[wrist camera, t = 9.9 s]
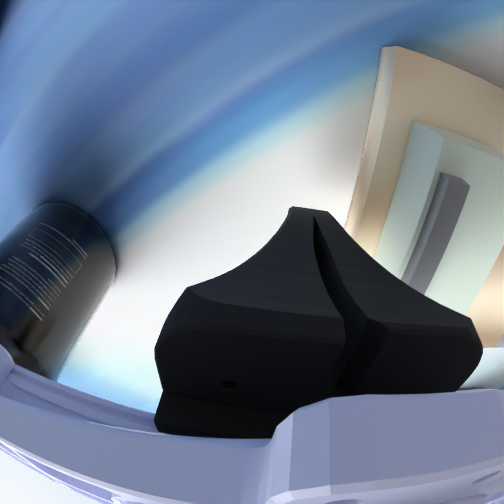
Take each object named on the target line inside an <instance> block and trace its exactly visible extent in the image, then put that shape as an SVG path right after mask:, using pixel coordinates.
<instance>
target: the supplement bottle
mask: <svg viewBox="0 0 504 504" xmlns="http://www.w3.org/2000/svg"><path fill="white" fill-rule="evenodd" d="M115 273H116V265H115V257H114V254H113V250H112V248H111V245H110V243H109V241H108V239H107V238H106V236H105V234H104V233H103V232H102V230H101V229H100V228H99V226H98V225H97V224H96V223H95V222H94V221H93V220H92V219H91V218H90V217H89V216H87V215H86V214H85V213H83V212H82V211H80V210H79V209H77V208H75V207H73V206H70V205H67V204H63V203H46V204H43V205H41V206H39V207H38V208H36V209H35V210H33V211H32V212H31V213H30V214H29V215H27V216H26V217H25V218H24V219H23V220H22V221H20V222H19V223H18V224H17V225H16V226H15V227H14V228H13V229H12V230H11V231H10V232H9V233H7V234H6V235H5V236H4V237H3V238H2V239H1V240H0V344H1V345H2V346H3V347H4V348H5V349H6V350H7V352H8V353H9V354H10V356H11V358H12V359H13V361H14V364H16V365H18V366H20V367H22V368H25V369H27V370H29V371H31V372H33V373H36V374H38V375H40V376H43V377H45V378H48V379H50V380H52V381H55V382H58V380H59V378H60V376H61V374H62V372H63V370H64V368H65V367H66V365H67V363H68V361H69V359H70V357H71V355H72V353H73V352H74V350H75V348H76V346H77V344H78V343H79V341H80V339H81V337H82V335H83V334H84V332H85V330H86V328H87V327H88V325H89V323H90V321H91V320H92V318H93V316H94V315H95V313H96V311H97V310H98V308H99V306H100V304H101V303H102V301H103V300H104V298H105V296H106V294H107V293H108V291H109V289H110V288H111V286H112V284H113V281H114V278H115Z"/></svg>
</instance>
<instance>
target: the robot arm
mask: <svg viewBox="0 0 504 504" xmlns="http://www.w3.org/2000/svg"><path fill="white" fill-rule="evenodd" d="M154 349H155V362H156V366H157V370H158V374H159V377H160V381H161V385H162V389H163V392H162V395H161V398H160V402H159V405H158V408H157V411H156V414H154V413H150V412H146V411H142V410H138V409H135V408H131V407H128V406H124V405H121V404H117V403H114V402H111V401H108V400H105V399H102V398H99V397H96V396H93V395H90V394H87V393H84V392H81V391H78V390H76V389H73V388H70V387H68V386H65V385H62V384H60V383H57V382H55V381H52V380H50V379H48V378H45V377H43V376H40V375H38V374H36V373H33V372H31V371H29V370H27V369H25V368H22V367H20V366H18V365H16V364H14V361H13V359H12V358H11V356H10V354H9V353H8V352H7V350H6V349H5V348H4V347H3V346H2V345H1V344H0V450H2V451H4V452H5V453H7V454H8V455H10V456H11V457H13V458H14V459H16V460H18V461H19V462H21V463H23V464H24V465H26V466H28V467H29V468H31V469H33V470H34V471H36V472H38V473H40V474H42V475H43V476H45V477H47V478H49V479H51V480H53V481H55V482H57V483H59V484H61V485H63V486H65V487H67V488H69V489H71V490H73V491H75V492H77V493H79V494H82V495H84V496H86V497H88V498H91V499H93V500H95V501H98V502H100V503H103V504H504V390H498V389H484V388H482V389H472V390H461V391H457V390H458V389H459V388H460V387H461V385H462V384H463V383H464V382H465V381H466V380H467V379H468V378H469V376H470V375H471V374H472V373H473V371H474V370H475V369H476V367H477V366H478V364H479V362H480V360H481V357H482V354H483V345H482V342H481V340H480V337H479V335H478V333H477V331H476V328H475V326H474V324H473V322H472V320H471V318H469V317H467V316H465V315H463V314H461V313H459V312H456V311H454V310H452V309H450V308H448V307H446V306H443V305H441V304H439V303H438V302H436V301H434V300H432V299H430V298H429V297H427V296H425V295H423V294H422V293H420V292H418V291H417V290H415V289H413V288H412V287H410V286H409V285H407V284H406V283H404V282H403V281H401V280H400V279H399V278H397V277H396V276H394V275H393V274H392V273H390V272H389V271H388V270H387V269H385V268H384V267H383V266H382V265H380V264H379V263H378V262H377V261H376V260H374V259H373V258H372V257H371V256H370V255H369V254H368V253H367V252H366V251H365V250H364V249H363V248H362V247H361V246H360V245H359V244H358V243H357V242H356V241H355V240H354V239H353V238H352V237H351V236H350V235H349V234H348V233H347V232H346V231H345V230H344V228H343V227H342V226H341V225H340V224H339V223H338V222H337V221H336V219H335V218H334V217H333V216H332V215H331V214H330V213H329V212H328V211H322V210H315V209H308V208H301V207H294V206H292V207H291V208H289V211H288V215H287V217H286V219H285V221H284V222H283V224H282V225H281V227H280V228H279V230H278V231H277V232H276V234H275V235H274V236H273V237H272V238H271V239H270V240H269V242H268V243H267V244H266V245H265V246H264V247H263V248H262V249H260V250H259V251H258V252H257V253H256V254H255V255H253V256H252V257H251V258H249V259H248V260H247V261H245V262H244V263H242V264H241V265H239V266H238V267H236V268H234V269H232V270H231V271H229V272H227V273H224V274H222V275H220V276H218V277H215V278H213V279H210V280H207V281H204V282H202V283H199V284H196V285H193V286H189V287H187V288H186V289H185V290H184V292H183V293H182V295H181V296H180V297H179V299H178V300H177V302H176V303H175V305H174V307H173V308H172V310H171V311H170V313H169V315H168V317H167V319H166V320H165V323H164V325H163V327H162V330H161V333H160V335H159V338H158V340H157V343H156V345H155V348H154Z"/></svg>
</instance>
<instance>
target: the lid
mask: <svg viewBox="0 0 504 504" xmlns="http://www.w3.org/2000/svg"><path fill="white" fill-rule="evenodd" d="M503 245H504V154H503V153H502V152H500V151H498V150H497V149H495V148H493V147H490V146H488V145H485V144H483V143H480V142H478V141H475V140H473V139H470V138H467V137H465V136H462V135H459V134H456V133H453V132H451V131H448V130H445V129H442V128H439V127H436V126H432V125H429V124H426V123H423V122H419V121H416V120H413V121H412V126H411V130H410V134H409V139H408V143H407V147H406V151H405V155H404V159H403V163H402V166H401V170H400V174H399V177H398V181H397V185H396V188H395V192H394V195H393V198H392V202H391V205H390V208H389V212H388V215H387V218H386V221H385V224H384V227H383V230H382V233H381V236H380V239H379V242H378V245H377V248H376V251H375V254H374V257H373V259H374V260H376V261H377V262H378V263H379V264H380V265H382V266H383V267H384V268H385V269H387V270H388V271H389V272H390V273H392V274H393V275H394V276H396V277H397V278H399V279H400V280H401V281H403V282H404V283H406V284H407V285H409V286H410V287H412V288H413V289H415V290H417V291H418V292H420V293H422V294H423V295H425V296H427V297H429V298H430V299H432V300H434V301H436V302H438V303H439V304H441V305H443V306H446V307H448V308H450V309H452V310H454V311H456V312H459V313H461V314H463V315H465V314H466V313H467V311H468V310H469V308H470V306H471V305H472V303H473V301H474V300H475V298H476V296H477V295H478V293H479V291H480V289H481V288H482V286H483V284H484V282H485V280H486V279H487V277H488V275H489V273H490V271H491V269H492V267H493V265H494V264H495V262H496V260H497V258H498V256H499V254H500V252H501V249H502V247H503Z"/></svg>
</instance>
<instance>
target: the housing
mask: <svg viewBox="0 0 504 504" xmlns="http://www.w3.org/2000/svg"><path fill="white" fill-rule="evenodd" d="M413 120H416V121H419V122H423V123H426V124H429V125H432V126H436V127H439V128H442V129H445V130H448V131H451V132H453V133H456V134H459V135H462V136H465V137H467V138H470V139H473V140H475V141H478V142H480V143H483V144H485V145H488V146H490V147H493V148H495V149H497V150H498V151H500V152H502V153H503V154H504V89H502V88H500V87H498V86H496V85H494V84H492V83H490V82H488V81H486V80H484V79H482V78H480V77H478V76H476V75H473V74H471V73H469V72H467V71H464V70H462V69H460V68H457V67H455V66H453V65H450V64H448V63H445V62H443V61H440V60H438V59H435V58H432V57H429V56H427V55H424V54H421V53H418V52H415V51H412V50H409V49H406V48H403V47H400V46H390V47H382V49H381V56H380V63H379V69H378V75H377V82H376V87H375V93H374V99H373V105H372V110H371V115H370V120H369V126H368V131H367V135H366V140H365V145H364V150H363V154H362V159H361V163H360V168H359V172H358V176H357V181H356V185H355V189H354V193H353V197H352V201H351V205H350V209H349V213H348V217H347V221H346V225H345V228H344V230H345V231H346V232H347V233H348V234H349V235H350V236H351V237H352V238H353V239H354V240H355V241H356V242H357V243H358V244H359V245H360V246H361V247H362V248H363V249H364V250H365V251H366V252H367V253H368V254H369V255H370V256H371V257H372V258H373V257H374V254H375V251H376V248H377V245H378V242H379V239H380V236H381V233H382V230H383V227H384V224H385V221H386V218H387V215H388V212H389V208H390V205H391V202H392V198H393V195H394V192H395V188H396V185H397V181H398V177H399V174H400V170H401V166H402V163H403V159H404V155H405V151H406V147H407V143H408V139H409V134H410V130H411V126H412V121H413ZM465 316H467V317H469V318H471V320H472V322H473V324H474V326H475V328H476V331H477V333H478V335H479V337H480V340H481V342H482V345H483V348H488V347H504V245H503V247H502V249H501V252H500V254H499V256H498V258H497V260H496V262H495V264H494V265H493V267H492V269H491V271H490V273H489V275H488V277H487V279H486V280H485V282H484V284H483V286H482V288H481V289H480V291H479V293H478V295H477V296H476V298H475V300H474V301H473V303H472V305H471V306H470V308H469V310H468V311H467V313H466V314H465Z"/></svg>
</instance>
